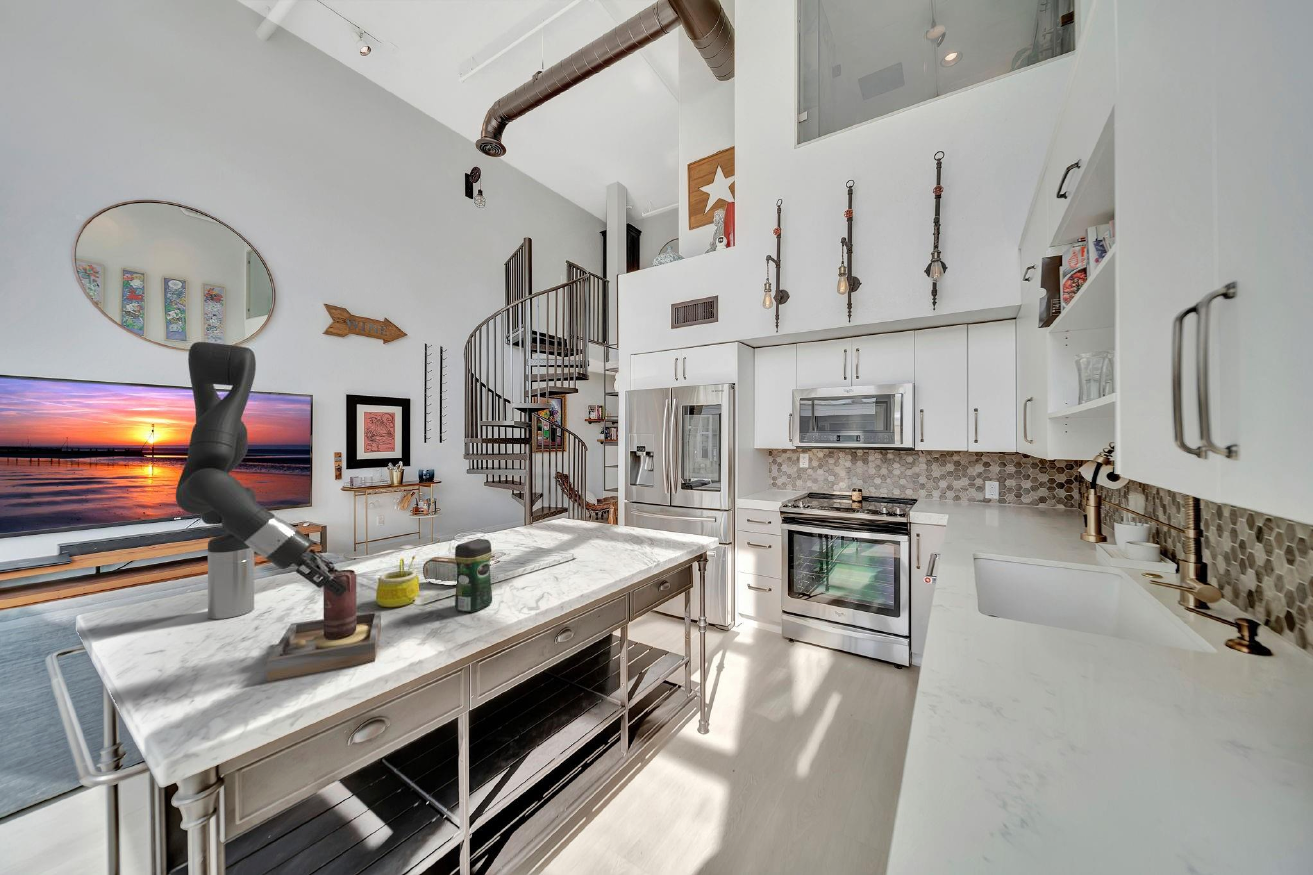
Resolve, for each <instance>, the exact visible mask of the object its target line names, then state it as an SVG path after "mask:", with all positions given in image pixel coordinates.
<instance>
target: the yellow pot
mask: <svg viewBox="0 0 1313 875" xmlns="http://www.w3.org/2000/svg"><path fill="white" fill-rule="evenodd" d="M411 558H412V559H411V562H410V564H409V565H408V566H409V567H408V570H407V569H406V570H405V561H404V560H405V559H404V558H403V557H402V558H400V559H399V560H400V561H399V566H398V567H399V570H395V571H390V572H385V573H384V574H382V575H381V576H379V577H378V578H377V581H378V583H377V587H376V593H375V601H376V603H377V605H379V606H381V607H383V608H397V607H403V606H406V605H409V604H412V603H413V602H414V601H413V600H414V599H415V597H416V596H417V595H418V594H419V595H420V589H419V587H420V579H419V576H418V574H417V573H416V572H415V571H413V570H410V569H411V567H412V565H413V562H414V560H415V559H416V556H415V555H413V556H411Z"/></svg>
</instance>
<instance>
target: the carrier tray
mask: <svg viewBox="0 0 1313 875" xmlns="http://www.w3.org/2000/svg"><path fill="white" fill-rule="evenodd" d="M381 628H382V610H377V611H370V612H362V613H356V631H355V633H354V634H353V635H351V636H349V637H346V638H343V639H338V640H328V639H326V638H325V637H324V618H322V619H313V620H309V621H307V620H306V621H300V622H299V621H298V622H294V623H290V625H289V626H288V627H287V629H286V631H285V633H284V634H283V636H282V637H281V638H280V639H279V642H278V643H277V645H276V646H275V648H274V649H273V651H271V652H272V653H271V654H270V656H269V657H268V658H267V660H266V682H272V681H277V680H283V679H288V678H293V677H299V676H303V675H308V674H314V673H319V672H326V671H330V670H331V671H332V670H336V669H342V668H347V667H353V666H358V665H363V664H368V663H374V662H376V657H377V652H378V647H379V640H380V635H381Z"/></svg>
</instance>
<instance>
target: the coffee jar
mask: <svg viewBox="0 0 1313 875" xmlns="http://www.w3.org/2000/svg"><path fill="white" fill-rule="evenodd" d="M454 548H455V549H454V559H455V560H456V563H457V584H456V586H455V587H456V588H455V597H454V609H456V611H458V612H461V613H465V612H466V613H468V612H469V613H474V612H477V611H480V610H483V609H484V608H486V607H488V606H490V605H492V603H493V591H492V581H491V580H492V578H491V559H492V554H493V552H492V543H491V542H490V539H485V538H477V539H472V540H469V541H466V542H462V543H459V544H457V545H456V546H455V547H454Z"/></svg>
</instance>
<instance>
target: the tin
mask: <svg viewBox="0 0 1313 875" xmlns="http://www.w3.org/2000/svg"><path fill="white" fill-rule="evenodd" d="M422 573H423V577H424V579H425V580H426V579H435V580H441V581H455V582H456V581H457V563H456V560H455V557H454V558H452V557H442V556H441V557H440V556H434V557H431V558H430V559H428V560H427V561H426V562H424V563H423V566H422Z"/></svg>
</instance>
